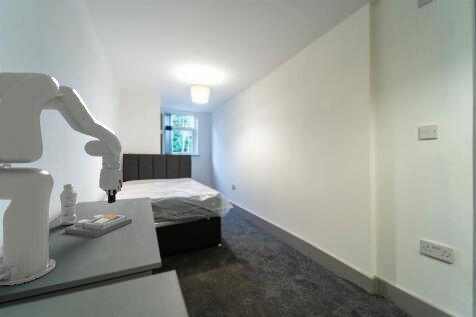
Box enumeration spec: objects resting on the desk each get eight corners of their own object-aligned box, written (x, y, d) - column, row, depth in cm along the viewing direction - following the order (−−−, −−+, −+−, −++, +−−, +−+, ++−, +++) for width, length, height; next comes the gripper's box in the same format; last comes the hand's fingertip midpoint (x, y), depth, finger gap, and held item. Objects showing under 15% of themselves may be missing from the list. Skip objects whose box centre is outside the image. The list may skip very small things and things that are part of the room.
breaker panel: (96, 237, 87) (96, 227, 87) (64, 232, 91) (64, 223, 91) (131, 222, 106) (131, 214, 106) (104, 218, 111) (104, 211, 110)
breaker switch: (103, 225, 94) (102, 223, 93) (94, 224, 95) (93, 222, 94) (116, 217, 101) (116, 214, 101) (108, 216, 102) (108, 213, 102)
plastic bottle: (62, 223, 103) (62, 184, 102) (78, 221, 105) (78, 183, 105) (57, 227, 97) (57, 185, 96) (74, 225, 100) (74, 185, 99)
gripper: (92, 166, 98) (92, 203, 99) (117, 167, 95) (117, 205, 96) (105, 164, 106) (106, 199, 107) (129, 166, 102) (130, 201, 103)
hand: (111, 202), depth 101 cm, fingers closed
